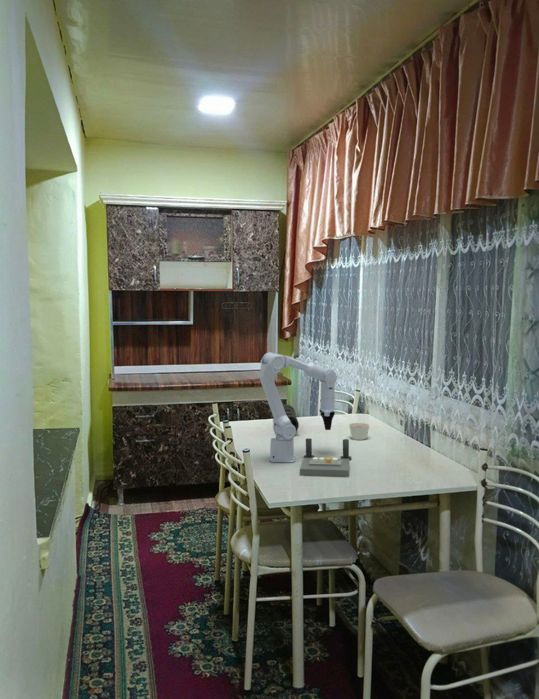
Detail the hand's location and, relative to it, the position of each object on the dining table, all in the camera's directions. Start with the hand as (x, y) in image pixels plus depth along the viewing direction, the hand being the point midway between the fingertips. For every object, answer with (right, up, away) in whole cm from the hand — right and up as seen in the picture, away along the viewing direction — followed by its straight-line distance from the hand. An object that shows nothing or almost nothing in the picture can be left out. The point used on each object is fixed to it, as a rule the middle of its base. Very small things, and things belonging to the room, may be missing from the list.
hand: (327, 429), depth 242 cm
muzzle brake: (-16, -6, +44) cm, 47 cm away
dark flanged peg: (+7, -11, -7) cm, 15 cm away
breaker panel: (-3, -13, -20) cm, 24 cm away
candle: (+17, -8, +25) cm, 31 cm away
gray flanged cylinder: (-8, -11, -5) cm, 15 cm away
